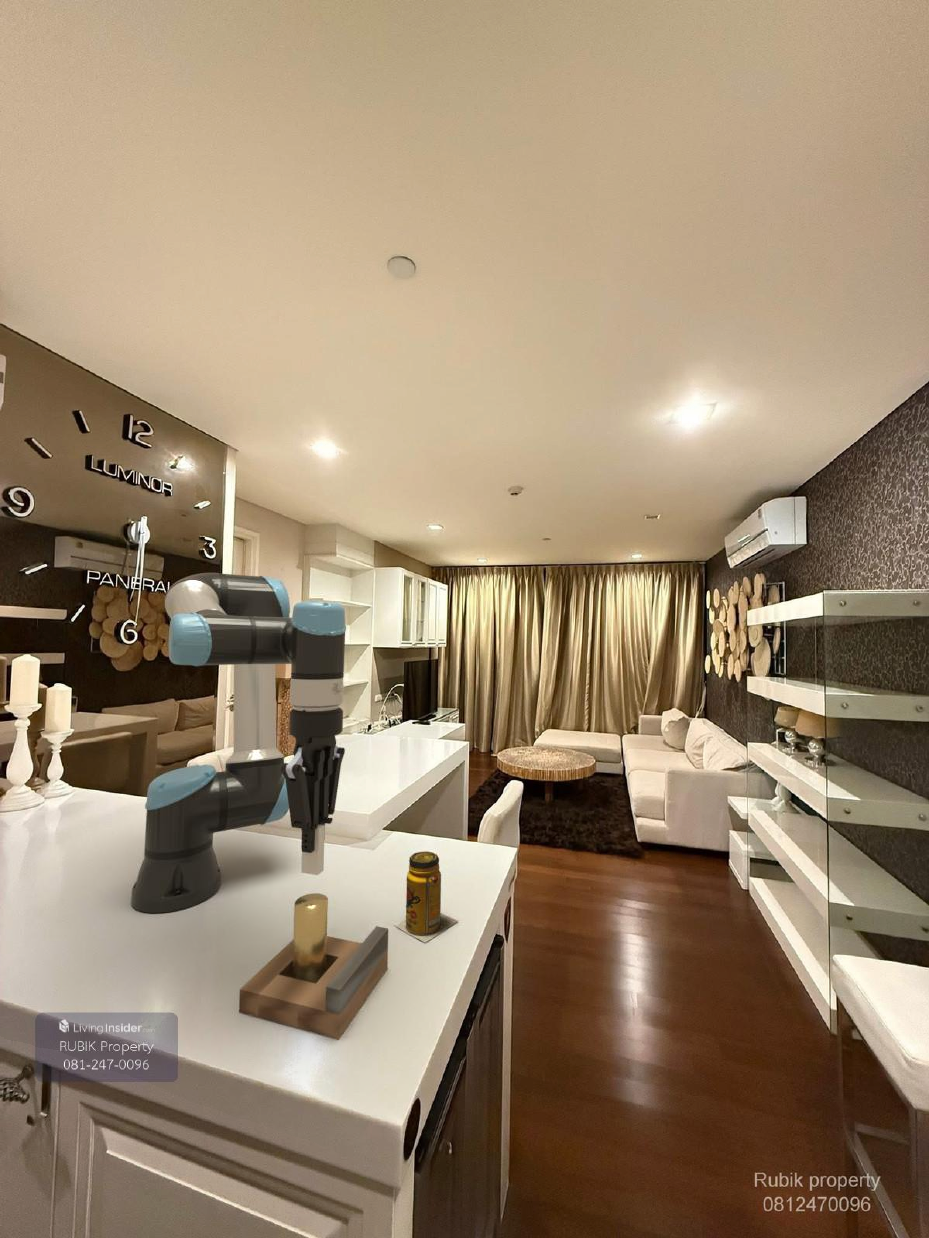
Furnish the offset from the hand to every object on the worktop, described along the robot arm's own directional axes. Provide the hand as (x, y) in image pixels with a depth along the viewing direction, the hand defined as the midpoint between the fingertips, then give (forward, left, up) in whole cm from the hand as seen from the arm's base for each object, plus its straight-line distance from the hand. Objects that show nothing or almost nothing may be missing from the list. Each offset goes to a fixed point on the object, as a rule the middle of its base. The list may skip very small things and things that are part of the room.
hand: (312, 871), depth 72 cm
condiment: (+10, +20, -17) cm, 28 cm away
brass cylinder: (0, 0, -16) cm, 16 cm away
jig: (+1, 0, -16) cm, 16 cm away
